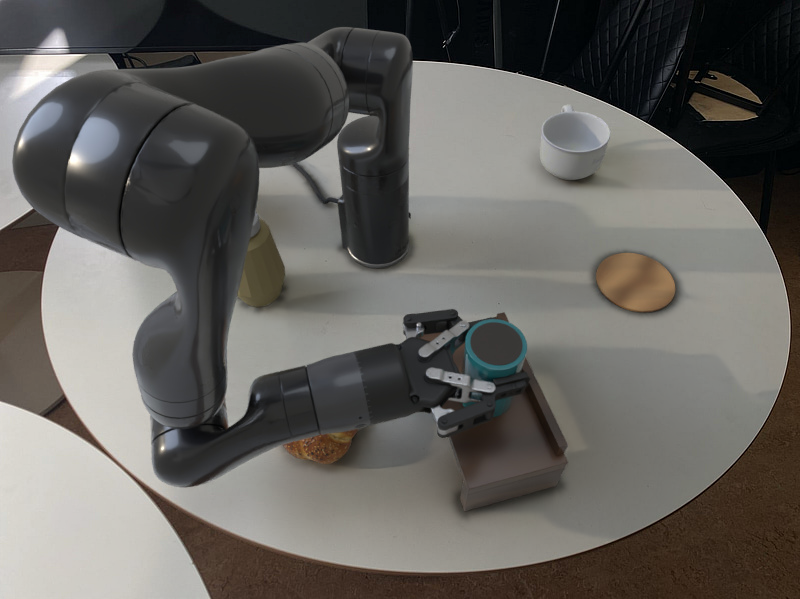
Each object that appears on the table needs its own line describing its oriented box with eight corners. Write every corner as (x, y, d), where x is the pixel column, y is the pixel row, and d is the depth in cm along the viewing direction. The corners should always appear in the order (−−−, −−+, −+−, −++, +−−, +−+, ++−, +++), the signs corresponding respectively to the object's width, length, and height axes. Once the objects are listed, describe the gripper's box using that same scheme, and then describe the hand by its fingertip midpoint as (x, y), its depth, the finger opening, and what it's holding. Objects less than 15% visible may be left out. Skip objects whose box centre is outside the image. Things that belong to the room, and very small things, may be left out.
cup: (448, 402, 67) (454, 352, 59) (472, 361, 71) (481, 309, 63) (499, 427, 65) (512, 379, 57) (521, 384, 69) (536, 333, 61)
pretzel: (376, 450, 71) (375, 436, 68) (286, 482, 68) (281, 469, 65) (346, 369, 78) (344, 353, 75) (263, 396, 75) (258, 380, 73)
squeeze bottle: (267, 262, 90) (241, 165, 76) (300, 291, 86) (280, 196, 72) (221, 291, 86) (185, 196, 72) (254, 323, 82) (223, 229, 68)
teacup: (598, 193, 99) (611, 153, 92) (532, 184, 100) (540, 145, 94) (598, 142, 107) (610, 102, 101) (537, 135, 109) (545, 95, 102)
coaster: (585, 293, 85) (586, 291, 85) (609, 244, 91) (610, 243, 91) (663, 324, 82) (664, 322, 82) (682, 271, 88) (683, 269, 87)
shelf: (414, 363, 78) (414, 325, 72) (493, 345, 80) (501, 305, 73) (464, 511, 66) (470, 481, 59) (556, 486, 68) (572, 454, 61)
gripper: (373, 436, 53) (550, 391, 55) (340, 311, 61) (494, 277, 64) (376, 470, 58) (536, 429, 61) (346, 352, 67) (487, 320, 70)
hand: (514, 351), depth 62 cm, fingers closed on cup, 6 cm apart
